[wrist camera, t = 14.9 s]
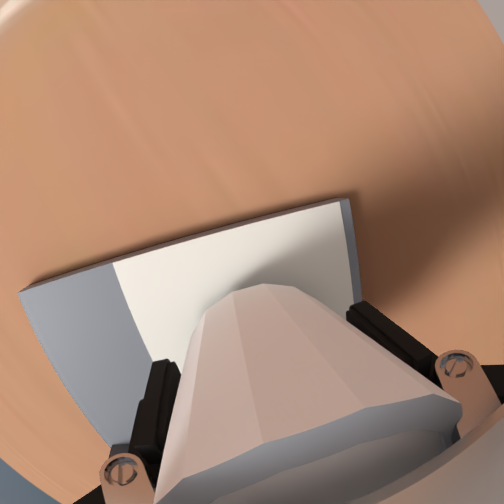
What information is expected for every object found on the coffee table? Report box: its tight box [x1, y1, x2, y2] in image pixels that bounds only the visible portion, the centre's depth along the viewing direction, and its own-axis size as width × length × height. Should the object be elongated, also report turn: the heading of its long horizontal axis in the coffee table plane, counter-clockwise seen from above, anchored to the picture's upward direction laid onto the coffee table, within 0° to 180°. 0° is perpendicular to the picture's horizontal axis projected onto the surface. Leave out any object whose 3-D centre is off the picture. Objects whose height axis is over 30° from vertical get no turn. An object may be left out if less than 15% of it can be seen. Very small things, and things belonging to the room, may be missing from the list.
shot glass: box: [153, 283, 463, 504], centre depth 7 cm, size 7×7×7 cm
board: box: [18, 198, 362, 458], centre depth 12 cm, size 18×15×4 cm
